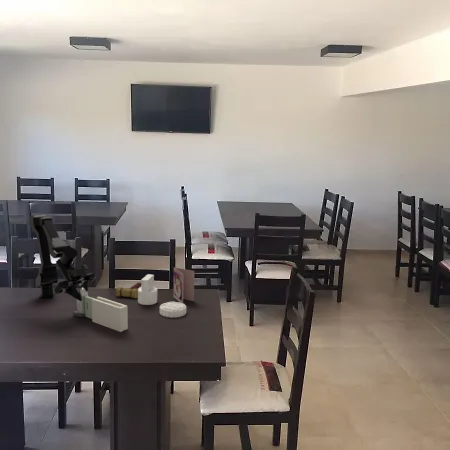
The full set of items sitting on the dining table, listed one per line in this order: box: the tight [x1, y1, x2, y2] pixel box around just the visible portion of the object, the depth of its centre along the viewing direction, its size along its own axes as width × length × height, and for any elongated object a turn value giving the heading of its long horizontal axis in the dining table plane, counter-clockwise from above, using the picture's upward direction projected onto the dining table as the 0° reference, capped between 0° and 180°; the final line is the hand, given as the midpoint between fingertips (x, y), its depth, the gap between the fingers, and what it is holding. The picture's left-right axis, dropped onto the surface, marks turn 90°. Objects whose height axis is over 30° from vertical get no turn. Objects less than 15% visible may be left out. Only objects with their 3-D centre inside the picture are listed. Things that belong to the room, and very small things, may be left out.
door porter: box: [72, 288, 89, 318], centre depth 219 cm, size 6×5×12 cm
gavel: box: [115, 281, 141, 299], centre depth 252 cm, size 21×5×10 cm
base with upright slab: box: [137, 273, 158, 306], centre depth 237 cm, size 9×9×12 cm
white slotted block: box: [91, 296, 129, 333], centre depth 209 cm, size 17×4×10 cm, turn 55°
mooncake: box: [159, 301, 187, 319], centre depth 226 cm, size 12×12×4 cm
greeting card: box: [172, 267, 195, 304], centre depth 241 cm, size 11×7×15 cm, turn 28°
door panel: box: [85, 295, 104, 320], centre depth 214 cm, size 12×1×9 cm, turn 55°
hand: (84, 299), depth 217 cm, fingers closed on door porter, 3 cm apart
